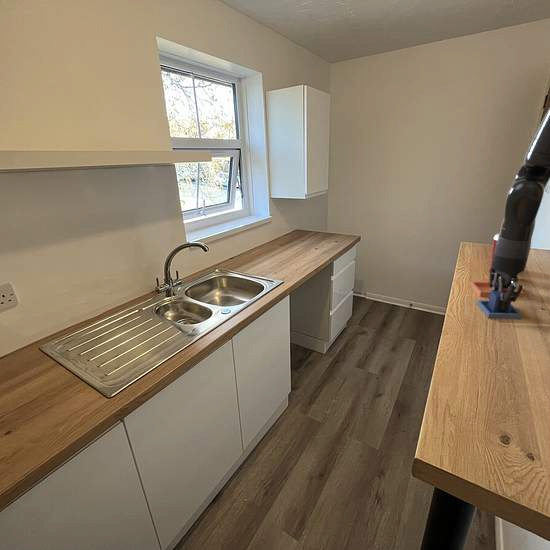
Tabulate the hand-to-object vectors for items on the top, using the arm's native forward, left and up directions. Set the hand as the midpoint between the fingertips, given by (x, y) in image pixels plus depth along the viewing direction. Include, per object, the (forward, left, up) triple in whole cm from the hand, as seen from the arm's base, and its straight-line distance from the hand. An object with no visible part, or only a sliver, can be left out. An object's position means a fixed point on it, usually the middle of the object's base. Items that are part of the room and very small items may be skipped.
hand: (498, 307), depth 89 cm
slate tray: (0, 0, -2) cm, 2 cm away
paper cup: (-14, -33, -2) cm, 36 cm away
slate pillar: (0, 0, -1) cm, 1 cm away
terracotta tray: (-5, -14, -2) cm, 15 cm away
